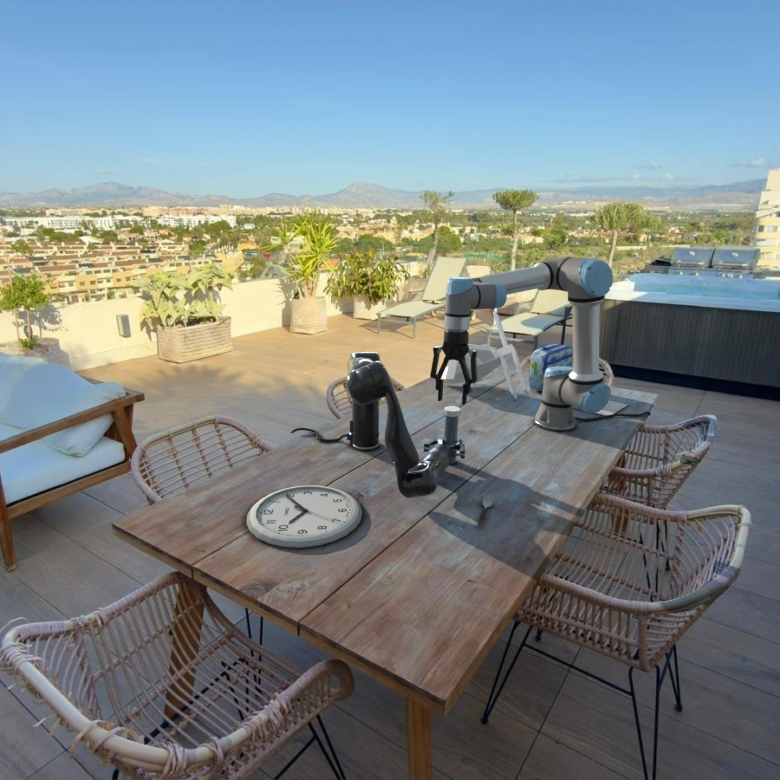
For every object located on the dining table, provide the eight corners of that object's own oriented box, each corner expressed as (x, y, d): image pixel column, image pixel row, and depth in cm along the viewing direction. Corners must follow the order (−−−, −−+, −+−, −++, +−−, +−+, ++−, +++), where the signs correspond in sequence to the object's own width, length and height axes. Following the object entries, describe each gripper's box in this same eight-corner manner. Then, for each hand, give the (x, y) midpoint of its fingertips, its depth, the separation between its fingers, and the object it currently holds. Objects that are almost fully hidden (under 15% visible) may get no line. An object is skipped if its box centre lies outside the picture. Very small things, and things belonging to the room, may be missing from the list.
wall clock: (364, 539, 124) (235, 543, 122) (364, 545, 125) (236, 550, 122) (360, 481, 153) (256, 483, 150) (360, 486, 153) (256, 488, 151)
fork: (473, 526, 133) (473, 519, 133) (484, 497, 148) (485, 491, 147) (483, 528, 133) (484, 521, 132) (493, 499, 147) (494, 493, 146)
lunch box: (545, 396, 239) (550, 351, 232) (524, 391, 246) (528, 347, 240) (572, 385, 256) (577, 343, 250) (552, 380, 263) (557, 339, 257)
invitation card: (608, 416, 214) (573, 407, 224) (608, 416, 214) (573, 408, 224) (628, 404, 229) (594, 396, 238) (628, 405, 229) (594, 397, 238)
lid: (452, 418, 162) (452, 412, 162) (440, 413, 166) (440, 408, 166) (463, 414, 166) (464, 409, 165) (451, 410, 169) (451, 404, 169)
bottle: (449, 465, 168) (452, 413, 163) (440, 461, 171) (442, 409, 166) (458, 461, 171) (461, 410, 165) (449, 457, 174) (451, 406, 168)
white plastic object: (461, 429, 252) (437, 405, 227) (444, 352, 274) (420, 323, 250) (535, 404, 240) (518, 377, 215) (510, 326, 262) (492, 293, 237)
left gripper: (460, 452, 153) (474, 432, 168) (414, 444, 158) (432, 425, 173) (458, 476, 155) (473, 454, 170) (413, 467, 160) (431, 446, 175)
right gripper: (492, 330, 158) (485, 402, 164) (428, 324, 165) (425, 394, 171) (486, 335, 151) (480, 409, 158) (421, 328, 158) (418, 400, 165)
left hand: (452, 440), depth 171 cm, fingers closed on bottle, 4 cm apart
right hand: (451, 401), depth 165 cm, fingers open, 7 cm apart
